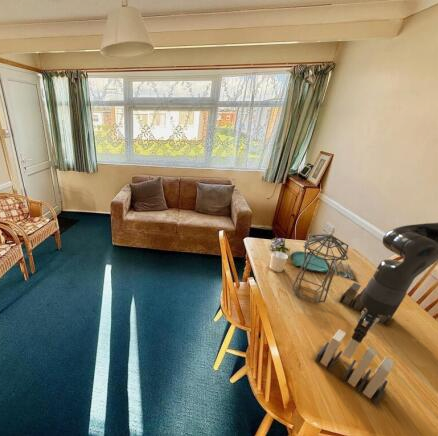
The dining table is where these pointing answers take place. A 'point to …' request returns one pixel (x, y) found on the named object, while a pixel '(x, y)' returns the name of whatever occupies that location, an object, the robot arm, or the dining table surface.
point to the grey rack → (358, 301)
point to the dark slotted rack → (358, 367)
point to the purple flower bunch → (279, 243)
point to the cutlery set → (316, 263)
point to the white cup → (278, 261)
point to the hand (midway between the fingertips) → (359, 334)
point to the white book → (351, 348)
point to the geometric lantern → (333, 240)
